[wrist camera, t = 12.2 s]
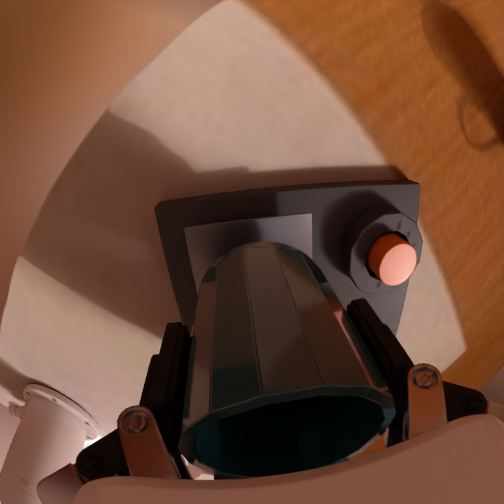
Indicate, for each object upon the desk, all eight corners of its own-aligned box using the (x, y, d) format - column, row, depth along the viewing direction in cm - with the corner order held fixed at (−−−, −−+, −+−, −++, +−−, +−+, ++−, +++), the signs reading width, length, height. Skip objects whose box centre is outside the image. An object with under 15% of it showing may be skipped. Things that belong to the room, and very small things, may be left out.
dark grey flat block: (159, 202, 17) (146, 214, 14) (409, 179, 18) (434, 188, 15) (201, 366, 23) (199, 391, 20) (387, 335, 24) (400, 355, 21)
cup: (186, 250, 12) (142, 400, 5) (326, 233, 12) (424, 356, 5) (210, 352, 15) (207, 484, 8) (321, 337, 15) (368, 458, 8)
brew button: (368, 235, 16) (381, 246, 15) (405, 230, 16) (420, 240, 15) (365, 276, 18) (376, 289, 16) (400, 270, 18) (413, 282, 16)
